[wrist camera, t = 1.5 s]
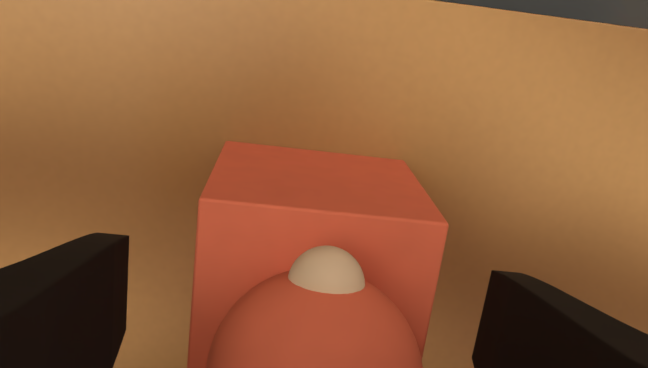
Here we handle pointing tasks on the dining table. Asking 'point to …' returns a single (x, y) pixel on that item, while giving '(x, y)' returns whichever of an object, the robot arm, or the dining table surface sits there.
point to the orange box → (312, 261)
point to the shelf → (330, 139)
